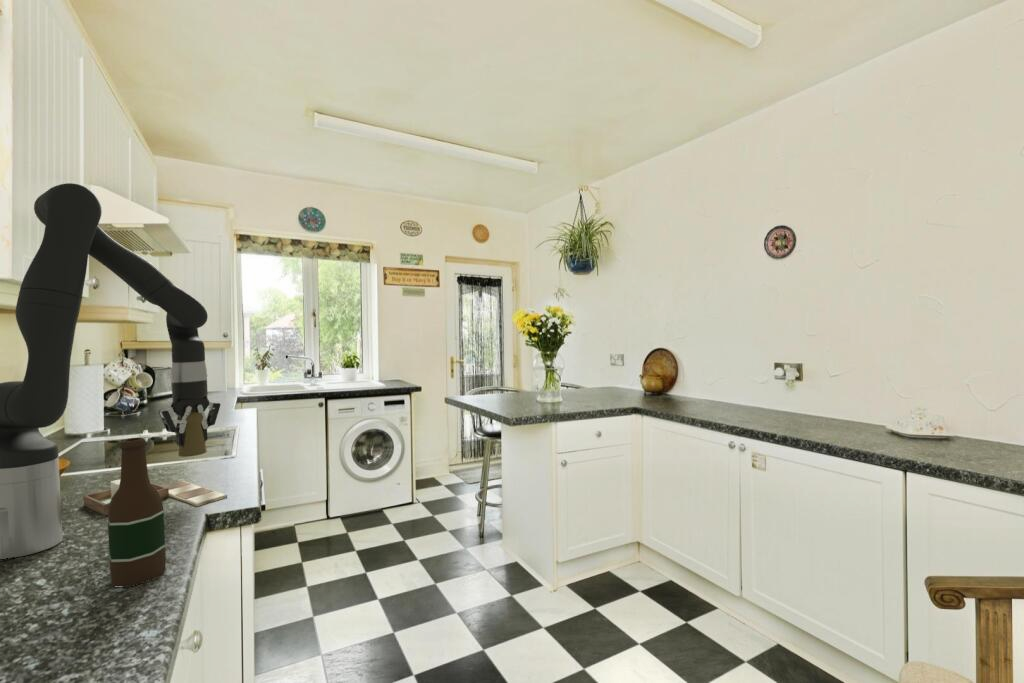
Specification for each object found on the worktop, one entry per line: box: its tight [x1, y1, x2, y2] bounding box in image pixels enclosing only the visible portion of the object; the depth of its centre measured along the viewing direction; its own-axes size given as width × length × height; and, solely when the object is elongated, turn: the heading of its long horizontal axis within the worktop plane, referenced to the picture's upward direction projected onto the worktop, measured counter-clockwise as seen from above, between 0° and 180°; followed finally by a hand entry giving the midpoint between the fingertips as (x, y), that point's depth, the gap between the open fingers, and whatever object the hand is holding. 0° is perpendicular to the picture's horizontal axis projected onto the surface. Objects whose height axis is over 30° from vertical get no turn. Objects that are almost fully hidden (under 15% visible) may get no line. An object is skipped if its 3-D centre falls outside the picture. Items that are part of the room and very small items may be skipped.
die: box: [110, 478, 121, 499], centre depth 117 cm, size 5×5×5 cm
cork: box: [178, 412, 208, 458], centre depth 120 cm, size 6×6×11 cm
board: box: [162, 480, 228, 507], centre depth 122 cm, size 7×24×1 cm, turn 59°
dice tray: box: [82, 481, 170, 516], centre depth 117 cm, size 13×13×2 cm
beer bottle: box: [107, 437, 167, 588], centre depth 80 cm, size 8×8×24 cm
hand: (192, 444), depth 120 cm, fingers closed on cork, 4 cm apart
